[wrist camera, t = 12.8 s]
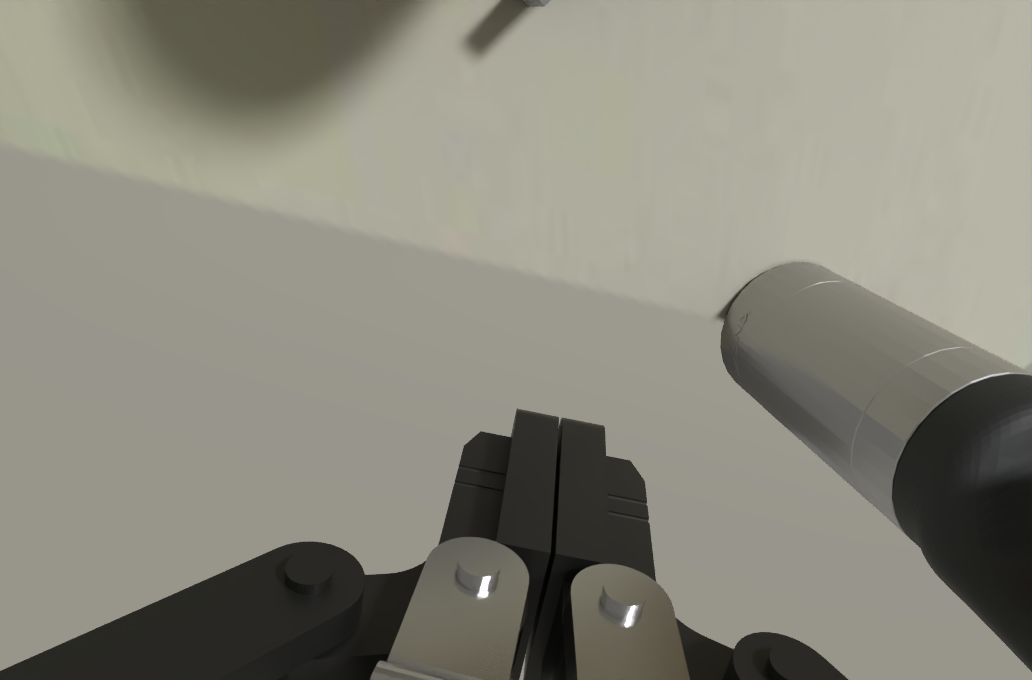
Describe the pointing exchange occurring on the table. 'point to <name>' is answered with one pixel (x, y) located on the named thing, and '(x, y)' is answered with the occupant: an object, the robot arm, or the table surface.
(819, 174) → the table surface
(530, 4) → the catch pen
